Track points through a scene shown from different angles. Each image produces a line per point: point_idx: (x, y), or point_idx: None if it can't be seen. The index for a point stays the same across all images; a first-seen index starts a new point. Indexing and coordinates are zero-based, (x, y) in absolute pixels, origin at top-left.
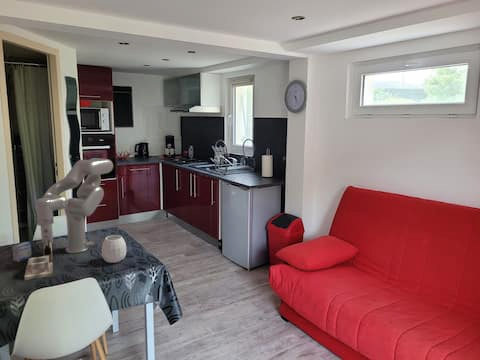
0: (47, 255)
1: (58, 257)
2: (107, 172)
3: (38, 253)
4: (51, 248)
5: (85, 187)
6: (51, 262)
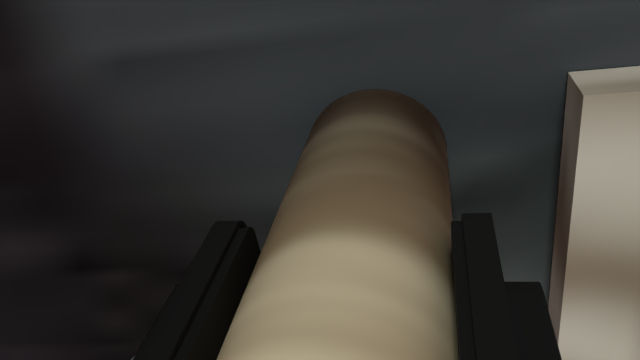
0: None
1: (183, 5)
2: None
3: (23, 294)
4: (374, 303)
5: None
6: (585, 114)
